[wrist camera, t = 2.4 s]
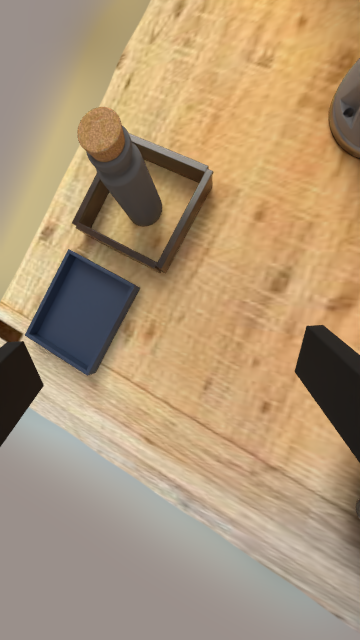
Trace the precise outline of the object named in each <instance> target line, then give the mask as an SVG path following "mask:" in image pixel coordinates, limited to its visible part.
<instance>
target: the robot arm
mask: <svg viewBox="0 0 360 640" xmlns="http://www.w3.org/2000/svg"><path fill="white" fill-rule="evenodd" d="M329 123H330V128H331V131H332V134H333V136H334V138H335V139H336V141H337V142H338V144H339V145H340V146H341V147H342V148H343V149H344V150H345V151H347V152H348V153H350V154H351V155H353V156H355V157H357V158H359V159H360V58H359V59H358V61H357V62H356V63H355V64H354V65H353V66H352V68H351V69H350V70H349V71H348V73H347V74H346V76H345V77H344V79H343V80H342V82H341V84H340V85H339V87H338V89H337V91H336V93H335V95H334V97H333V100H332V103H331V106H330V112H329ZM295 373H296V374H297V376H298V377H299V378H300V380H301V381H302V383H303V384H304V385H305V387H306V388H307V390H308V391H309V392H310V394H311V395H312V397H313V398H314V399H315V401H316V402H317V404H318V405H319V406H320V408H321V409H322V411H323V412H324V413H325V415H326V416H327V418H328V419H329V420H330V422H331V423H332V425H333V426H334V427H335V429H336V430H337V432H338V433H339V434H340V436H341V437H342V439H343V440H344V441H345V443H346V444H347V446H348V447H349V448H350V450H351V451H352V453H353V454H354V455H355V457H356V458H357V460H358V461H359V462H360V355H359V354H358V353H356V352H355V351H354V350H353V349H352V348H350V347H349V346H348V345H347V344H345V343H344V342H343V341H342V340H341V339H339V338H338V337H337V336H336V335H335V334H333V333H332V332H331V331H330V330H328V329H327V328H326V327H325V326H324V325H316V326H306V330H305V334H304V338H303V342H302V346H301V350H300V353H299V357H298V361H297V365H296V369H295ZM43 386H44V385H43V383H42V380H41V378H40V376H39V374H38V372H37V370H36V367H35V365H34V363H33V361H32V359H31V357H30V354H29V352H28V350H27V348H26V346H25V344H24V341H22V342H7V343H6V344H4V345H3V346H2V347H1V348H0V446H1V445H2V444H3V442H4V441H5V440H6V438H7V437H8V435H9V434H10V432H11V431H12V430H13V428H14V427H15V425H16V424H17V423H18V421H19V420H20V418H21V417H22V415H23V414H24V412H25V411H26V410H27V408H28V407H29V406H30V404H31V403H32V401H33V400H34V399H35V397H36V396H37V394H38V393H39V391H40V390H41V389H42V387H43Z"/></svg>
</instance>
